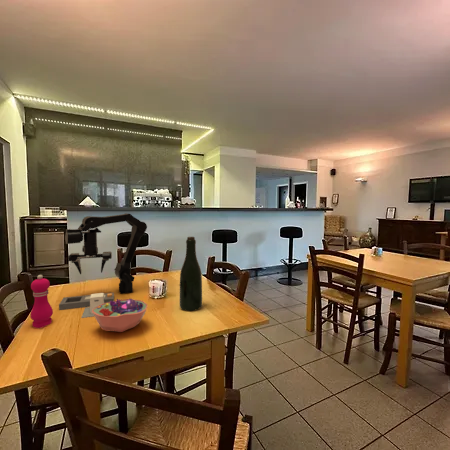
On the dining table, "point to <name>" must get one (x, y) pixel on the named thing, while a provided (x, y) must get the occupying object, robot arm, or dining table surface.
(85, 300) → the power strip
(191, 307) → the dark green wine bottle
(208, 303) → the dining table surface
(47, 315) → the pepper mill
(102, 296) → the block
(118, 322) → the cell model
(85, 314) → the mat
